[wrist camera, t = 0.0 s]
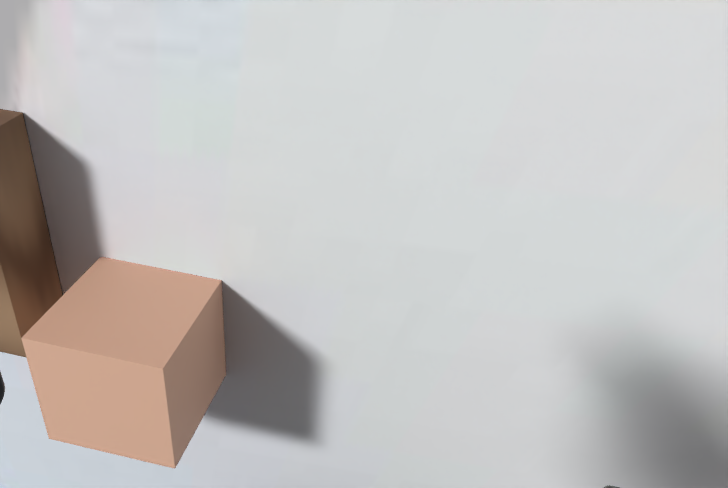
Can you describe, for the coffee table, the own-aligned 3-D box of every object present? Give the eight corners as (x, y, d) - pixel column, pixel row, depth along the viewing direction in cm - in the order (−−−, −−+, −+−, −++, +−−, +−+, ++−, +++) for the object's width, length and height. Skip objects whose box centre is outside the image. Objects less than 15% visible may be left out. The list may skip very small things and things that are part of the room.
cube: (226, 373, 31) (175, 468, 26) (117, 349, 32) (49, 438, 27) (222, 279, 28) (162, 368, 23) (101, 255, 29) (21, 337, 24)
